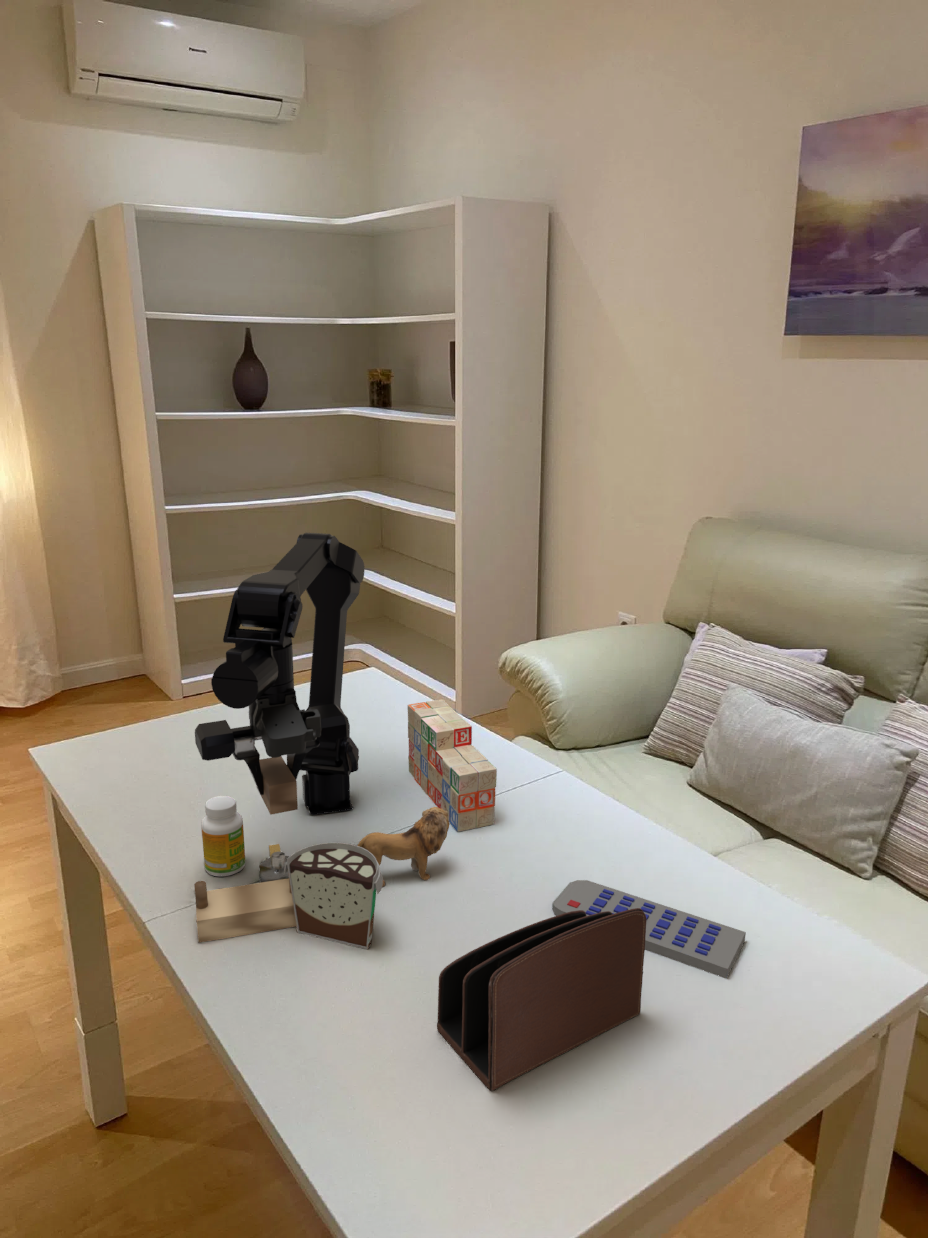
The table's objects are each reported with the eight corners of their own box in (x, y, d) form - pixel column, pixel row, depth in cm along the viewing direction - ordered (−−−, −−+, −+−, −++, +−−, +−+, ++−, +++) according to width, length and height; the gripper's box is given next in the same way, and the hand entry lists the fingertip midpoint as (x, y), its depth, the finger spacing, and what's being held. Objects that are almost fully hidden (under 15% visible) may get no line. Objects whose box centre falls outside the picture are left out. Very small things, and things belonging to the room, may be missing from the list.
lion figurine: (441, 855, 128) (441, 797, 125) (455, 875, 123) (456, 815, 120) (338, 877, 122) (336, 817, 120) (349, 899, 118) (347, 837, 115)
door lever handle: (292, 854, 127) (291, 830, 126) (300, 888, 120) (299, 862, 118) (256, 859, 126) (254, 835, 125) (261, 894, 118) (260, 868, 117)
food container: (400, 922, 113) (399, 851, 110) (379, 952, 107) (378, 878, 104) (310, 902, 117) (307, 832, 114) (286, 930, 111) (282, 858, 108)
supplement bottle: (235, 880, 121) (230, 814, 118) (197, 875, 122) (192, 810, 119) (252, 858, 126) (248, 795, 123) (215, 853, 127) (211, 791, 124)
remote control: (726, 983, 104) (727, 967, 103) (547, 918, 115) (547, 903, 114) (744, 945, 110) (746, 930, 110) (573, 887, 121) (574, 872, 121)
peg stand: (298, 897, 118) (297, 856, 116) (305, 925, 112) (303, 882, 110) (197, 913, 114) (193, 871, 112) (198, 943, 109) (194, 899, 107)
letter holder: (641, 1015, 98) (651, 902, 94) (490, 1095, 88) (494, 971, 84) (580, 964, 106) (587, 857, 102) (435, 1031, 96) (436, 915, 91)
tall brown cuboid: (282, 783, 124) (281, 755, 123) (297, 809, 117) (296, 781, 116) (256, 787, 122) (255, 760, 121) (270, 814, 115) (269, 786, 114)
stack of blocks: (495, 825, 136) (497, 749, 132) (456, 833, 133) (457, 756, 130) (442, 765, 155) (442, 697, 151) (407, 771, 152) (407, 702, 149)
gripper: (205, 713, 104) (214, 835, 109) (362, 689, 112) (364, 804, 116) (190, 680, 114) (198, 794, 118) (334, 661, 121) (337, 768, 126)
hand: (276, 791), depth 119 cm, fingers closed on tall brown cuboid, 3 cm apart
